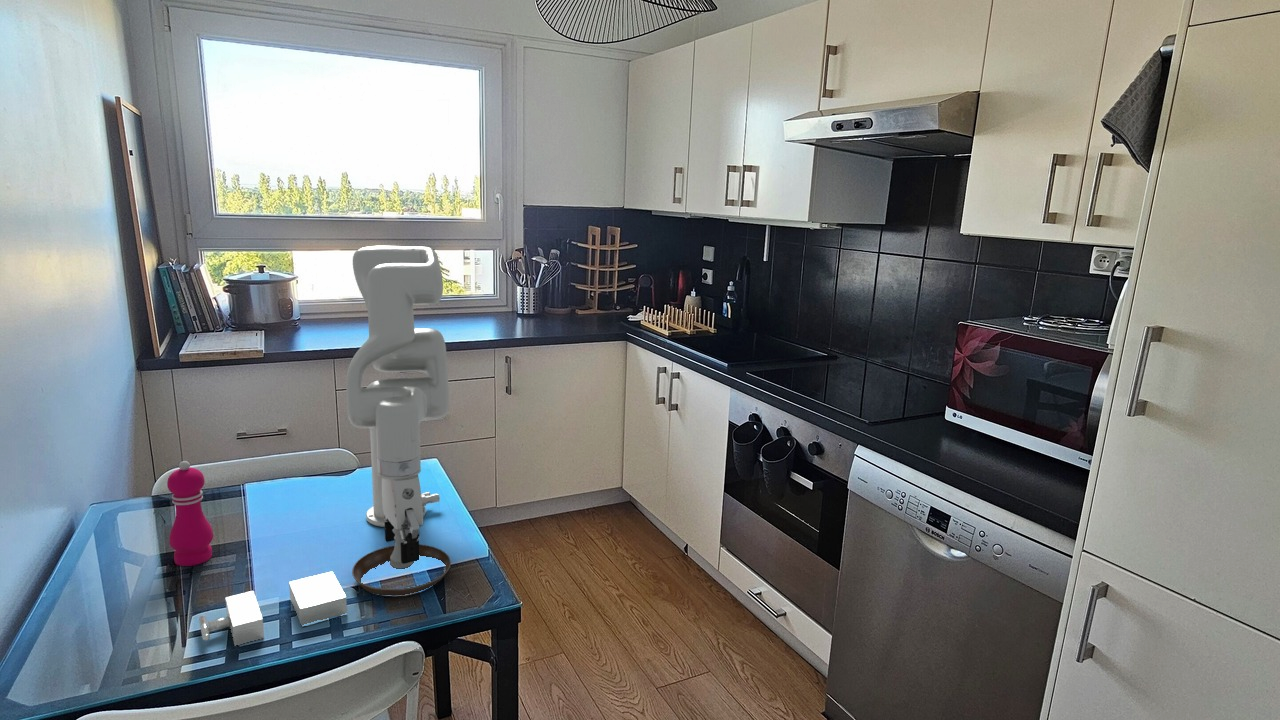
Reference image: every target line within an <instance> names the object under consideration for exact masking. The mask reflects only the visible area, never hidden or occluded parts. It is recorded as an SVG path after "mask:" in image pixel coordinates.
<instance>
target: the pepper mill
mask: <svg viewBox="0 0 1280 720" xmlns="http://www.w3.org/2000/svg"><path fill="white" fill-rule="evenodd" d="M178 467H179V468H178V469H177V470H174V471H173V472H171V474H170V475H169V476H168V478H167V484H166V485H167V489H168V491H169V492H170V493H172V495H171V499H172V501H171V502H172V504H173V505H174V506H175V519H174V523H173V525H172V527H171V530H170V533H169V546H170V547H171V548H172V549H173V550H174V553H173V559H174V563H175V565H177V566H180V567H191V566H196V565H200V564H203V563H205V562H207V561H209V560H210V559H211V558H212V556H213V548H212V546H211V543H212V541H213V540H214V532H213V531H214V530H213V527H212V526H211V524H210V522H209V520H208V519H207V518H206V516H205V514H204V512H203V509H202V500H203V498H204V496H203V494H204V493H203V490H202V488H203V487H204V485H205V476H204V473H202V471H201V470H200V469H198V468H195V467H191V464H190V462H189V461H187V460H183V461H181V462H179V463H178Z"/></svg>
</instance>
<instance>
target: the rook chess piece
mask: <svg viewBox="0 0 1280 720" xmlns="http://www.w3.org/2000/svg"><path fill="white" fill-rule="evenodd" d="M407 525H408V524H407V523H406V524H403V526H407ZM392 531H393V533H394V534H395V536H394V539H395V540H394V545H395V547H394V551H393V552H392V555H391V557H390V560H391V561H390V565H391V566H392V567H393V568H396V569H405V568H408V567H410V566H411V565H412V564H413V563H414V561H413V562H409V563H405V564H403V563H402V562H401V545H400V543H402V538H401V534H400V531H399V530H397V529H395V528H393V530H392ZM408 533H410V530H406V531H405V534H406V536H407V534H408Z"/></svg>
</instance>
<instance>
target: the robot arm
mask: <svg viewBox="0 0 1280 720" xmlns="http://www.w3.org/2000/svg"><path fill="white" fill-rule="evenodd" d="M440 265H441V264H440V260H439V258H438V254H437V253H436V251H435V249H433V248H432V247H429V246H409V245H408V246H405V245H404V246H403V245H402V246H401V245H371V246H364V247H360V248H359V249H357V250H356V251H355V252H354V253H353V256H352V269H353V274H354V277H355V281H356V284H357V287H358V289H359V292H360V295H361V296H362V298H363V300H364V303H365V307H366V308H367V317H368V318H367V319H368V321H367V323H368V338H367V340H366V341H365V342H364V343H363V344H362V345H361V346H360V347H359V348H358V349H357V351H356V353H354V355H353V357H352V359H351V361H350V362H349V365H348V368H347V373H346V378H345V379H346V380H345V381H346V384H345V385H346V412H347V417H348V420H349V423H350V424H351V425H352V426H353V427H355V428H358V429H369V437H370V438H369V439H370V454H371V455H370V456H371V458H370V459H371V460H370V461H371V480H372V481H371V483H372V504H373V505H372V506H371V507H370V508H369V509H368V510H366V513H365V516H366V520H367V522H368V523H369V524H370V525H373V526H376V527H382V528H384V541H385V542H386V543H389V542H395V539H394V536H395V534H394V533H393V531H392V530H393V528H395V529H397V530H399V531H400V534H401V538H402V543H400V545H401V562H402V563H403V564H405V563H409V562H413V561H417V560H419V544H420V527H422V526H423V524H424V517H425V515H426V506H427V505H428V504H435V503H438V502H441V501H440V500H441V499H440V498H441V497H440V494H439V493H433V494H431V493H430V491H428V492H422V491H421V488H422V487H421V482H420V477H419V475H420V473H421V470H422V467H421V465H422V464H421V431H420V428H421V425H420V424H422V422H423V421H435V420H441V419H442V418H445V417H446V416H447V415H448V414H449V413H448V412H449V409H450V389H449V388H450V387H449V375H448V374H449V373H448V370H449V369H448V360H447V359H448V357H447V346H446V342H445V338H444V336H443V333H441V331H439V330H438V329H435V328H429V327H428V328H427V327H425V328H424V327H423V328H421V327H420V328H419V327H418V328H417V327H415V321H414V320H415V318H414V305H416V306H419V305H422V306H423V305H436V304H438V303H440V301H441V300H442V297H443V291H444V280H443V274H442V269H441V266H440ZM371 365H372V367H373V368H374V370H376V371H379V372H381V373H406V372H408V373H409V372H410V373H412V372H423V373H424V374H425V375H426V376H423V377H422V376H420V377H419V376H418V377H394V378H393V377H392V378H391V377H390V378H382V379H378V380H375V381H372V382H370V384H368V385H367V386H366V387H363V386H362V385H363V384H362V383H363V375H364V373H365V371H366V370H367V368H369V366H371ZM406 523H407V524H408V525H407V526H403V524H406ZM406 530H410V531H409V533H408V534H407V536H406V534H405V531H406Z"/></svg>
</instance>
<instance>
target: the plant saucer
mask: <svg viewBox="0 0 1280 720" xmlns="http://www.w3.org/2000/svg"><path fill="white" fill-rule="evenodd" d="M394 547H395V544H394V545H391V546H390V545H389V546H385V547H382V548H378V549H375V550H373V551H371V552H369V553H367V554H365V555H362V556H361V557H360V558H359V559H358V560H357V561H356V562H355V563H354V565H353V567H352V569H351V574H352V577H353V578H354V581H355V582H356V583H357V584H358V585H359V586H360V587H361V588H363V590H365V591H367V592H368V591H369V592H368V593H370V592H371V593H370V594H372V593H374V594H379V595H405V594H410V593H414V592H418V591H421V590H424V589H426V588H429V587H430V586H432V585H434V584H435V583H437V582H438V581H439V582H440V581H441V580H442V579H443V578H444V577H445V576H446V574H447V573H448V571H449V569H450V567H451V563H452V561H451V558H450V556H449V554H448V553H446V551H444V550H442V549H441V548H438V547H435V546H431V545H426V544H420V543H419V555H420V556H426V557H432V558H436V559H438V560H441V561H442V562H443V563H444V564H445V565H446V571H445V573H444V574H442V575H441V576H440V577H438V578H437V579H435V580H433V581H431V582H428V583H426V584H423V585H419V586H416V587H410V588H404V589H381V588H375V587H371V586H368V585H365V584H363V583H361V578H362V577H363V575H364V574H366V573H367V572H368V571H369V570H370V569H372V568H375V567H377V566H378V565H379V564H380V565H382V564H384V563H385V562H386V561H388V562H389V561H391V560H390V557H391V555H392V552H393V551H394ZM375 569H376V568H375ZM439 582H438V583H439ZM438 583H437V584H438ZM374 594H373V595H374Z"/></svg>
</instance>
